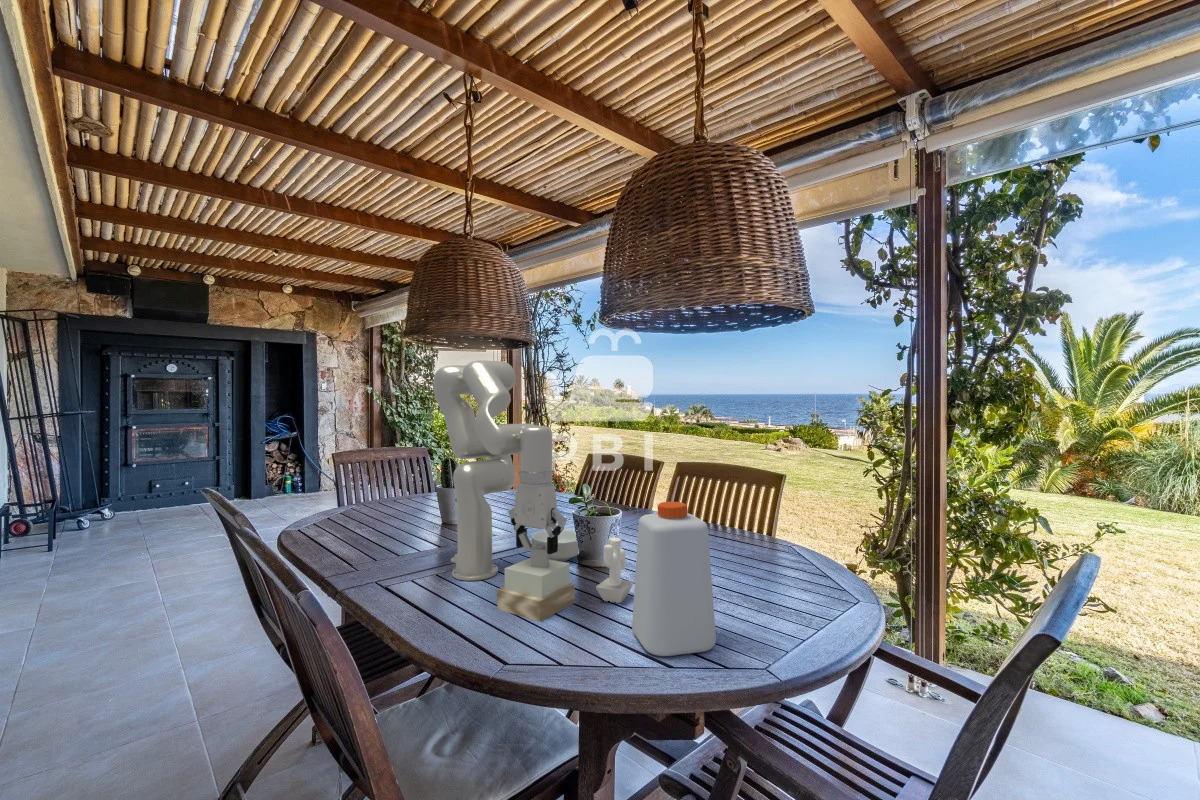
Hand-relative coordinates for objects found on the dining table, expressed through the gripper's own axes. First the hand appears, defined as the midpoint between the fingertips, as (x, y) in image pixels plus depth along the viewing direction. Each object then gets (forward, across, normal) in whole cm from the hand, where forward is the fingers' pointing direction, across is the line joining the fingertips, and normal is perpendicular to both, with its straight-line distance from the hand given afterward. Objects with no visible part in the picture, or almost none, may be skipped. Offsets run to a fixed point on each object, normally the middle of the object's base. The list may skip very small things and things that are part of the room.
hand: (536, 549), depth 132 cm
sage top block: (+9, 0, 0) cm, 9 cm away
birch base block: (+14, 0, 0) cm, 14 cm away
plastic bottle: (+14, +35, +2) cm, 38 cm away
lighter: (+4, -1, 0) cm, 4 cm away
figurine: (+14, +13, +14) cm, 24 cm away
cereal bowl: (+14, -20, +33) cm, 41 cm away
